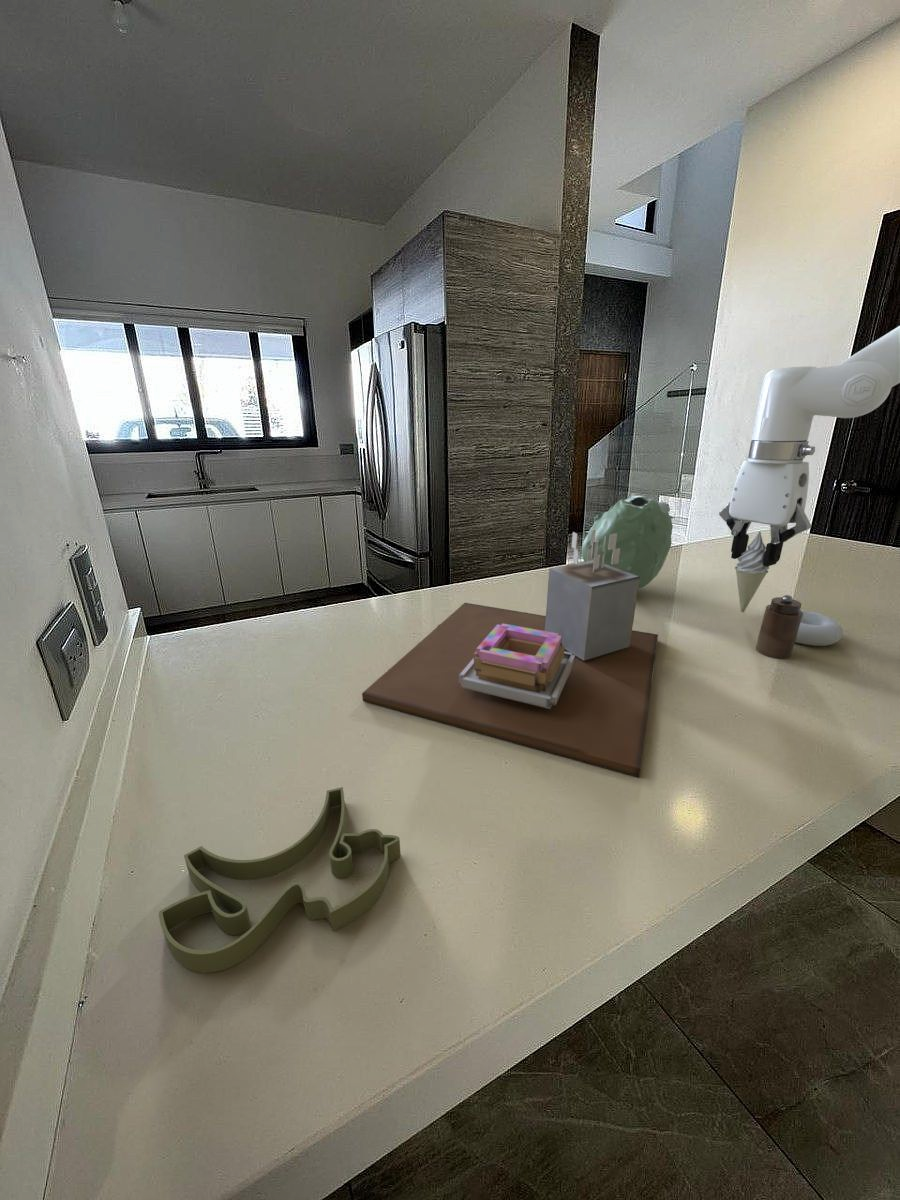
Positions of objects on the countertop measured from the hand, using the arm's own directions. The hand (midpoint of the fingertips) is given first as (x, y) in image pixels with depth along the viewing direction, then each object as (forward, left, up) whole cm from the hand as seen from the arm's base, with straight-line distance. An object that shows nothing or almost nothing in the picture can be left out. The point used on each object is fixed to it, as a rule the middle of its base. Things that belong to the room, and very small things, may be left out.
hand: (753, 560), depth 83 cm
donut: (-9, +4, -12) cm, 15 cm away
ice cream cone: (0, 0, -10) cm, 10 cm away
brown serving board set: (+32, +32, -12) cm, 46 cm away
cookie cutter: (+41, +74, -12) cm, 85 cm away
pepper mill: (-3, +12, -11) cm, 17 cm away
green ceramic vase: (+22, -8, -12) cm, 26 cm away
